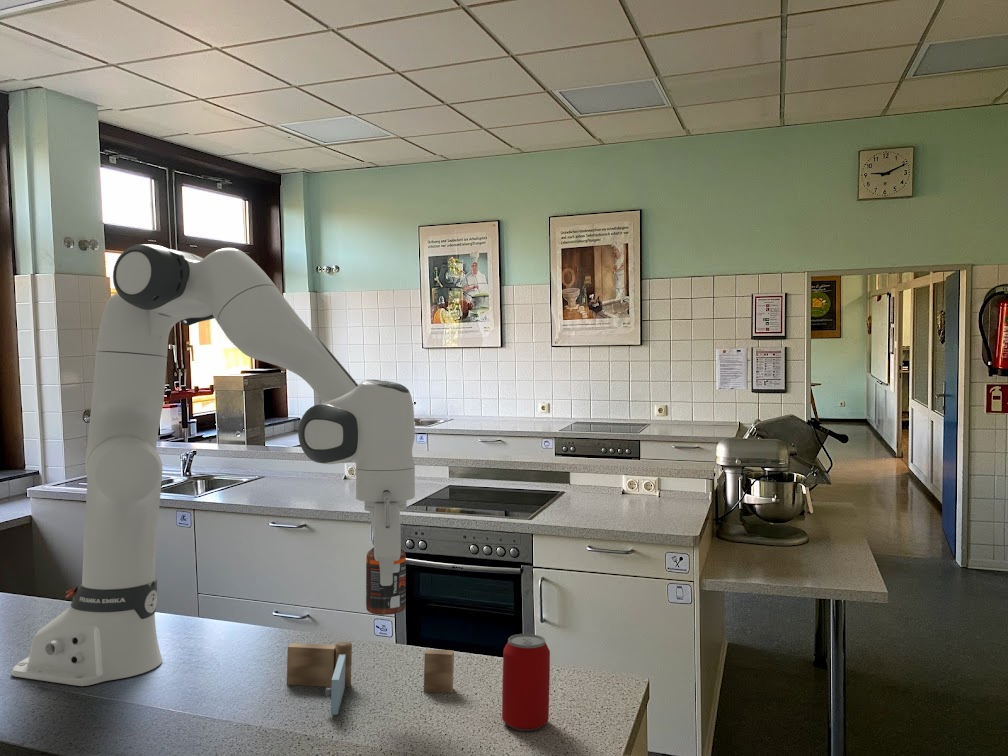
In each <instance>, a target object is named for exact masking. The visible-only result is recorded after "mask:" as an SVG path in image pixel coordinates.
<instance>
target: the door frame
mask: <svg viewBox="0 0 1008 756" xmlns="http://www.w3.org/2000/svg"><path fill="white" fill-rule="evenodd" d="M352 651H353V643H352V642H350V641H340V642H337V643H336V644H322V643H320V644H319V643H316V644H315V643H300V642H299V643H298V642H297V643H296V642H291V643H290V644H289V645H288V646H287V660H286V661H287V662H286V663H287V664H286V685H288V686H305V687H306V686H309V687H325V688H331V686H332V677H333V674H334V670H335V667H336V664H337V660H338V657H339V654H346V663H345V688H344V689H346V688H349V687H350V686H352V660H353V659H352V658H353V657H352V656H353V655H352V654H353V652H352ZM454 657H455V651H454V650H452V649H451V650H450V649H427V648H426V650H425V652H424V667H423V668H424V669H423V670H424V671H423V692H426V693H443V694H452V692H453V690H454V667H455V666H454V665H455V664H454V662H455V661H454V660H455V658H454Z"/></svg>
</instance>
